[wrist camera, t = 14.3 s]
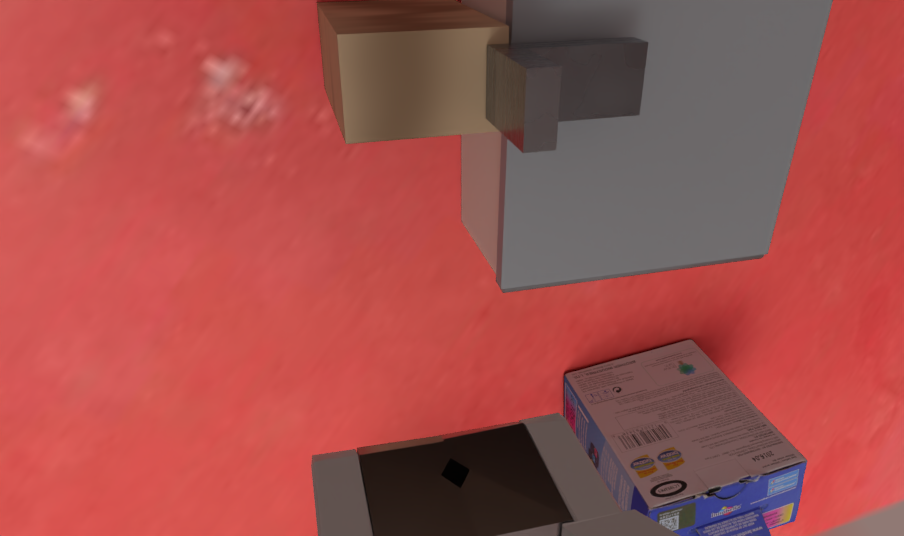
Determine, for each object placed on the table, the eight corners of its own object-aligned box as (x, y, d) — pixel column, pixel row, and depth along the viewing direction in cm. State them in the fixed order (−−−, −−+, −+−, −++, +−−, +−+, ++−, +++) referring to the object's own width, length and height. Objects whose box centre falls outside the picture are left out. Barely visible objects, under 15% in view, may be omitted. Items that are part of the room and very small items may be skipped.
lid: (832, -55, 29) (846, -53, 29) (756, 253, 37) (765, 260, 36) (508, -47, 26) (514, -45, 26) (495, 288, 34) (500, 296, 33)
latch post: (449, -3, 34) (509, 26, 26) (450, 80, 36) (505, 131, 28) (316, 2, 32) (336, 34, 25) (324, 88, 34) (345, 144, 26)
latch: (633, 36, 27) (694, 58, 23) (625, 107, 28) (682, 138, 25) (487, 44, 26) (526, 68, 22) (485, 118, 27) (523, 152, 23)
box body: (722, -54, 36) (815, -46, 30) (681, 197, 43) (752, 245, 37) (461, -48, 33) (507, -37, 27) (461, 221, 40) (498, 278, 34)
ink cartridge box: (562, 433, 49) (666, 612, 37) (558, 372, 47) (668, 543, 34) (688, 397, 51) (829, 557, 38) (691, 335, 48) (844, 487, 36)
